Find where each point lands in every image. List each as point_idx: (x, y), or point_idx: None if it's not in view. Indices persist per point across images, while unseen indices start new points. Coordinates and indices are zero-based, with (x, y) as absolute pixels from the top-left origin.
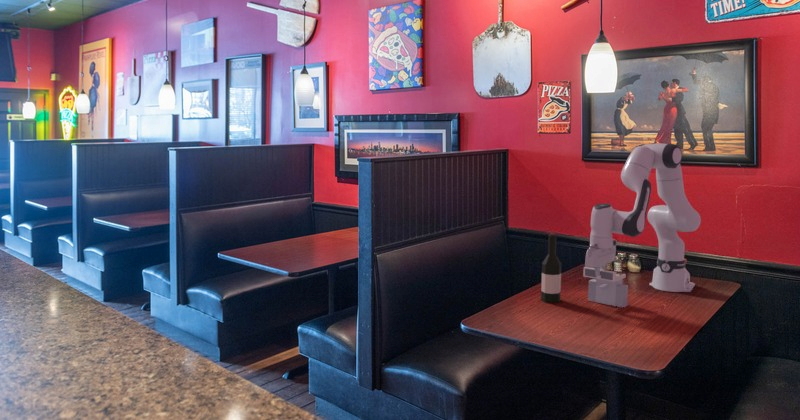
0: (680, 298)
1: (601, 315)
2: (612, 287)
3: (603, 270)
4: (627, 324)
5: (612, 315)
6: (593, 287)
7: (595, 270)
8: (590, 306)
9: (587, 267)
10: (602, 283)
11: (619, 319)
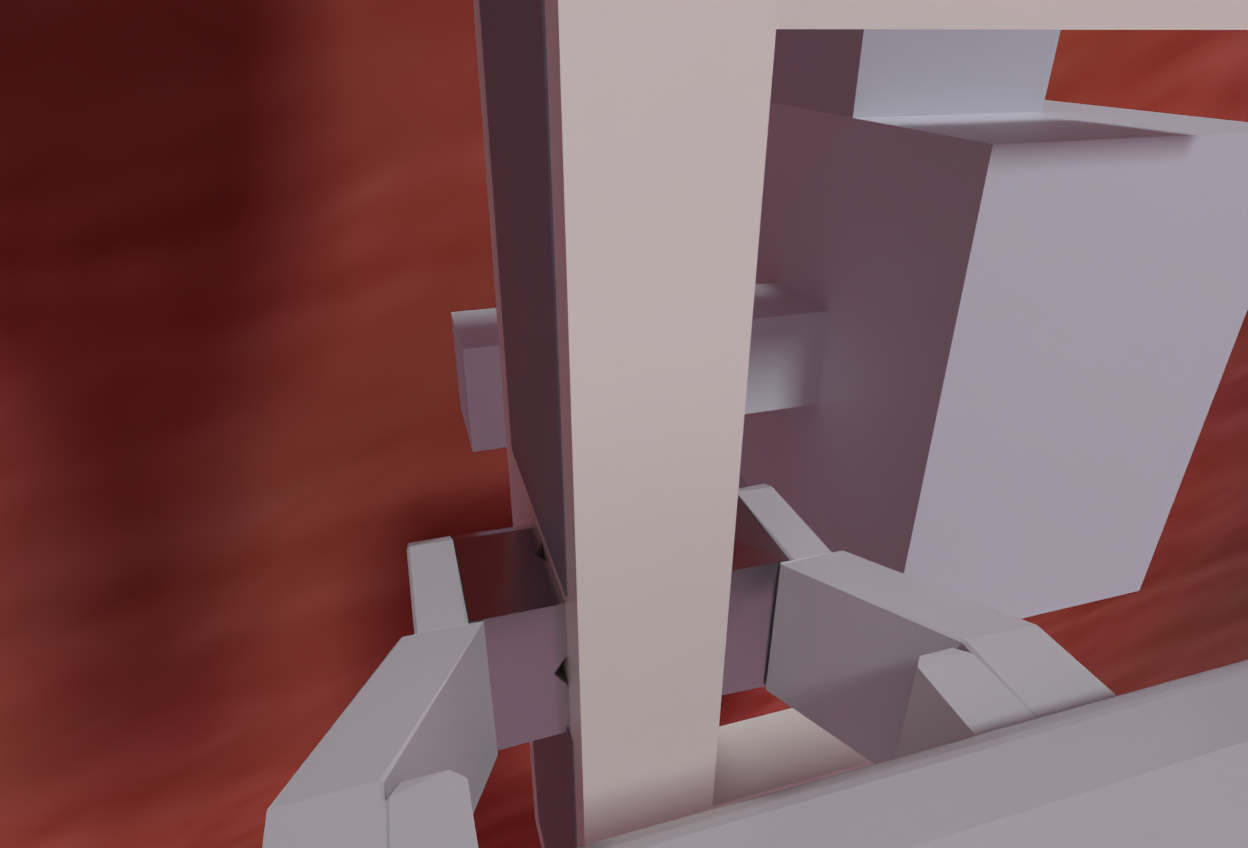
0: (1223, 587)
1: (134, 507)
2: (783, 463)
3: (616, 819)
4: (115, 832)
5: (273, 578)
6: (787, 43)
7: (376, 696)
8: (403, 152)
9: (689, 58)
10: (827, 282)
11: (200, 702)
